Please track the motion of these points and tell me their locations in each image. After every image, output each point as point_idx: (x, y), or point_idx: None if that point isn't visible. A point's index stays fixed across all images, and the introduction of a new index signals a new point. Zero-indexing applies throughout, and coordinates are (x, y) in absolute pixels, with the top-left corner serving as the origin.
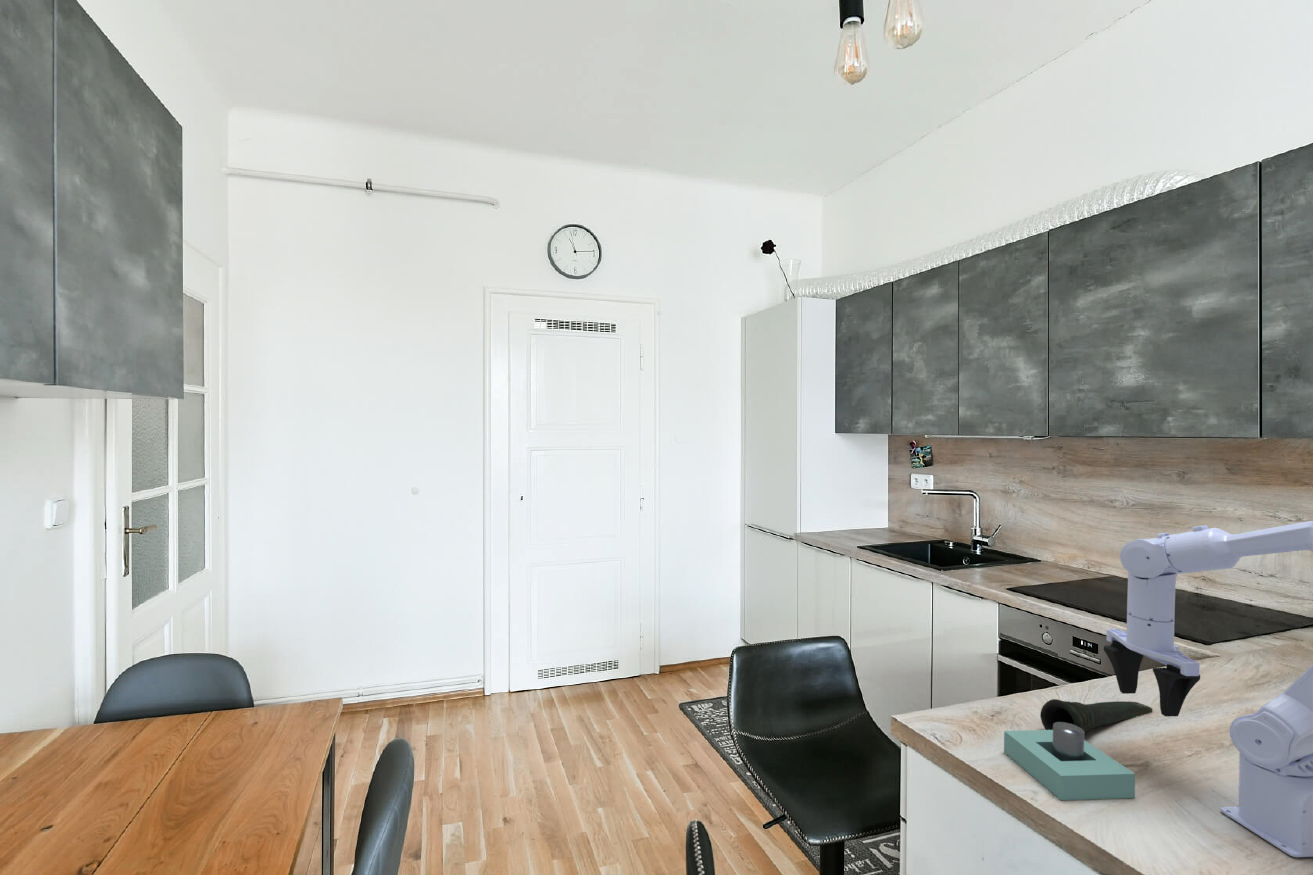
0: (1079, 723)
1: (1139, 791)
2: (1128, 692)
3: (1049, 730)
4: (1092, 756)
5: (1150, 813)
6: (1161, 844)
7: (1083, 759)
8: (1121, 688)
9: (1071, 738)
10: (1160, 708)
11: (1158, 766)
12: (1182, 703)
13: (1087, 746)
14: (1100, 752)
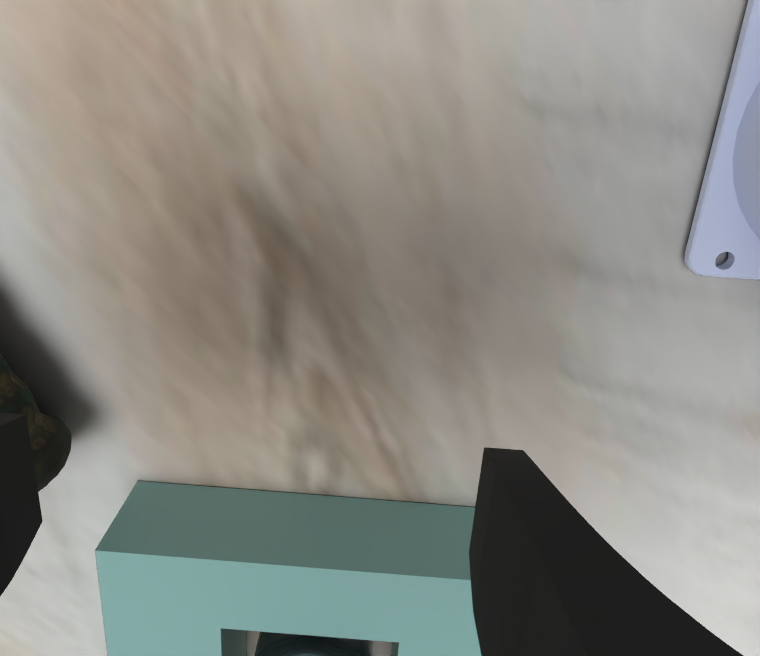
0: (41, 481)
1: (476, 455)
2: (29, 481)
3: (111, 636)
4: (365, 635)
5: (609, 535)
6: (752, 635)
7: (353, 645)
8: (13, 565)
9: None
10: (472, 602)
11: (295, 181)
12: (580, 519)
13: (275, 593)
14: (333, 579)
